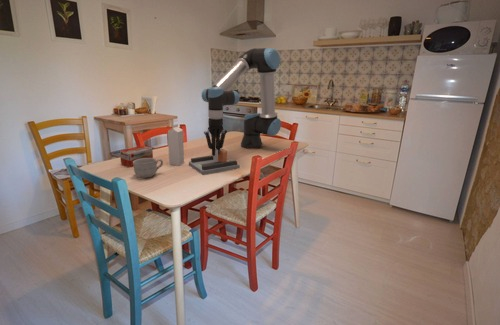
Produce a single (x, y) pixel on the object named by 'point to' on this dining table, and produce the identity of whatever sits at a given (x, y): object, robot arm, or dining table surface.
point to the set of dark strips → (212, 166)
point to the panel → (198, 167)
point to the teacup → (146, 167)
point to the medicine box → (135, 155)
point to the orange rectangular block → (222, 155)
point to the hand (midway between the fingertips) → (215, 160)
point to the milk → (175, 146)
